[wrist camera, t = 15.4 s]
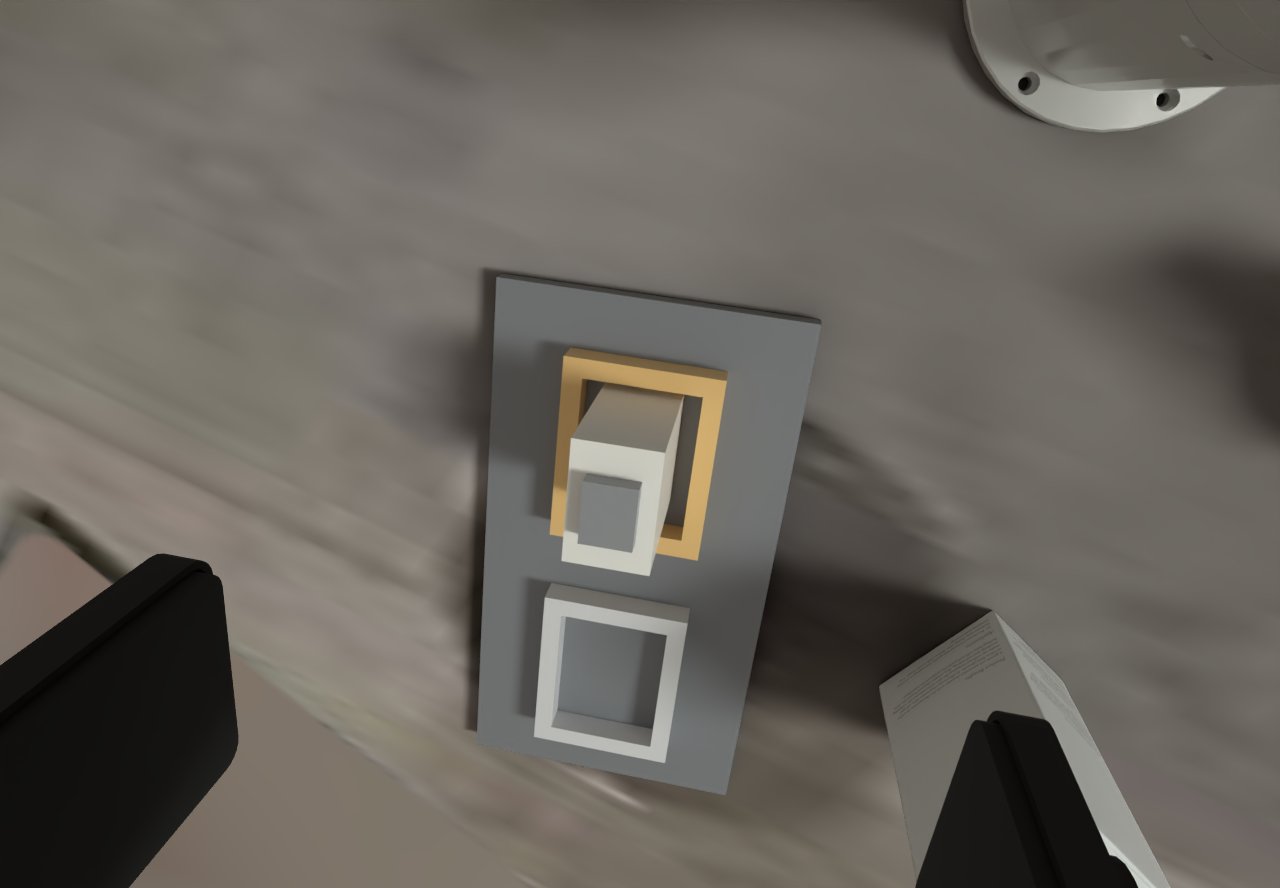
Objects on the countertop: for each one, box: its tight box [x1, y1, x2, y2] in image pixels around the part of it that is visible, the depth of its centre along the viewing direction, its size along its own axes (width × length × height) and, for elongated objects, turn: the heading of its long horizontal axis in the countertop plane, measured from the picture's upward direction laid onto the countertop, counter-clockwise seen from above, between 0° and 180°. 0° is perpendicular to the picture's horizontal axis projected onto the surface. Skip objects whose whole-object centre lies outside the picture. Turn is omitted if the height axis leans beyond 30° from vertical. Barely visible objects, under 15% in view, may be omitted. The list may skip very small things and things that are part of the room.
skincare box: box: [879, 611, 1170, 888], centre depth 39 cm, size 8×7×16 cm
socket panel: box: [477, 273, 822, 795], centre depth 46 cm, size 16×30×2 cm, turn 173°
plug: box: [561, 382, 684, 576], centre depth 39 cm, size 4×6×9 cm, turn 174°
